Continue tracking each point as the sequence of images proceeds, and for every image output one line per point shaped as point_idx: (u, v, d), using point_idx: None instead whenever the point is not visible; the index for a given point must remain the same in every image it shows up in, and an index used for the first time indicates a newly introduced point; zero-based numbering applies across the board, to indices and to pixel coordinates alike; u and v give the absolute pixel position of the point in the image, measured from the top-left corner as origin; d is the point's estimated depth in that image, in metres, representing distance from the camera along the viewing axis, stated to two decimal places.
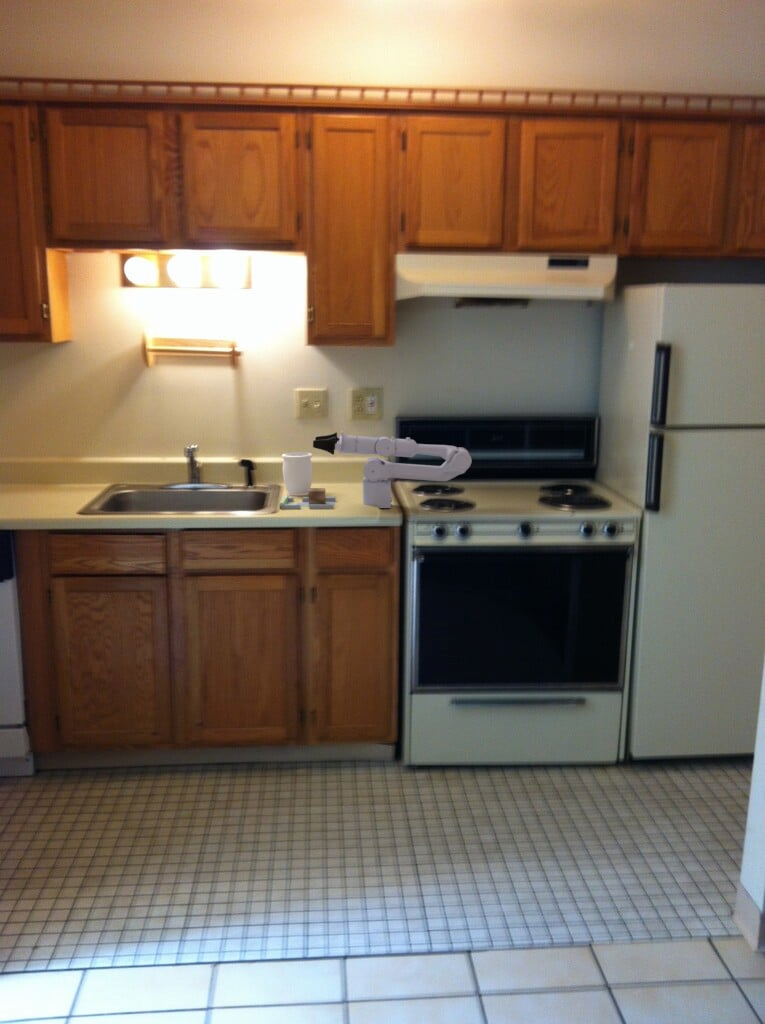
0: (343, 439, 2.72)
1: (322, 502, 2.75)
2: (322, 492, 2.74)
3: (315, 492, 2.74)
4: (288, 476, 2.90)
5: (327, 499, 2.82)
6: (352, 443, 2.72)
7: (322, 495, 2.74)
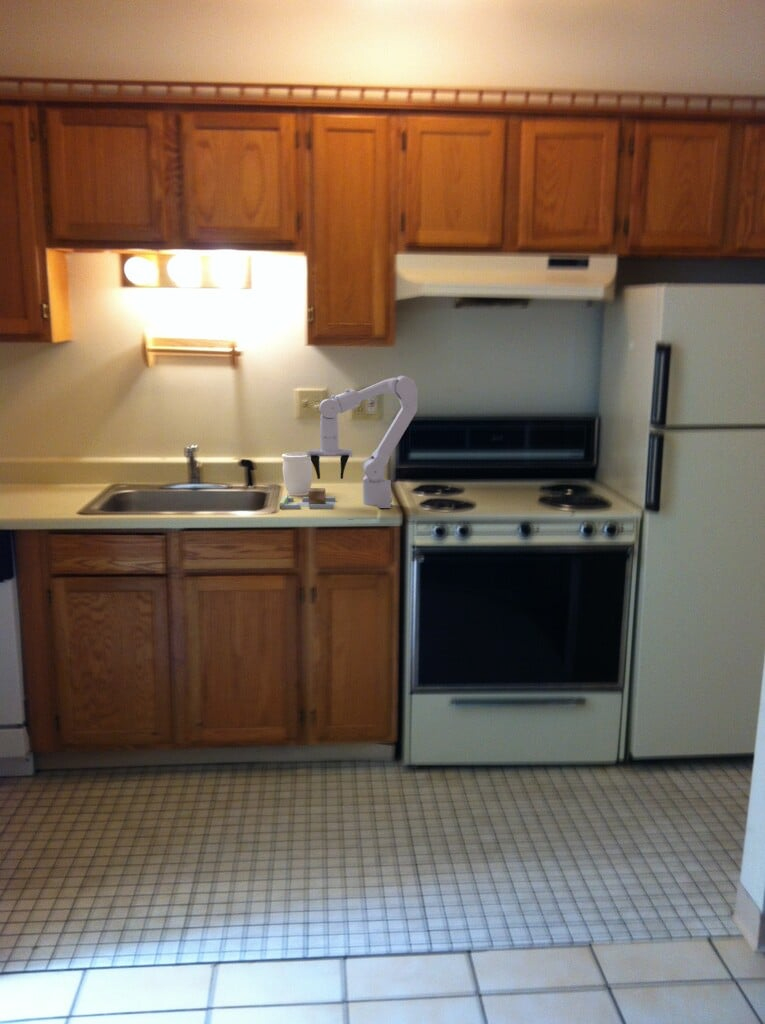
0: (336, 450, 2.71)
1: (322, 502, 2.75)
2: (322, 492, 2.74)
3: (315, 492, 2.74)
4: (288, 476, 2.90)
5: (327, 499, 2.82)
6: (337, 440, 2.72)
7: (322, 495, 2.74)
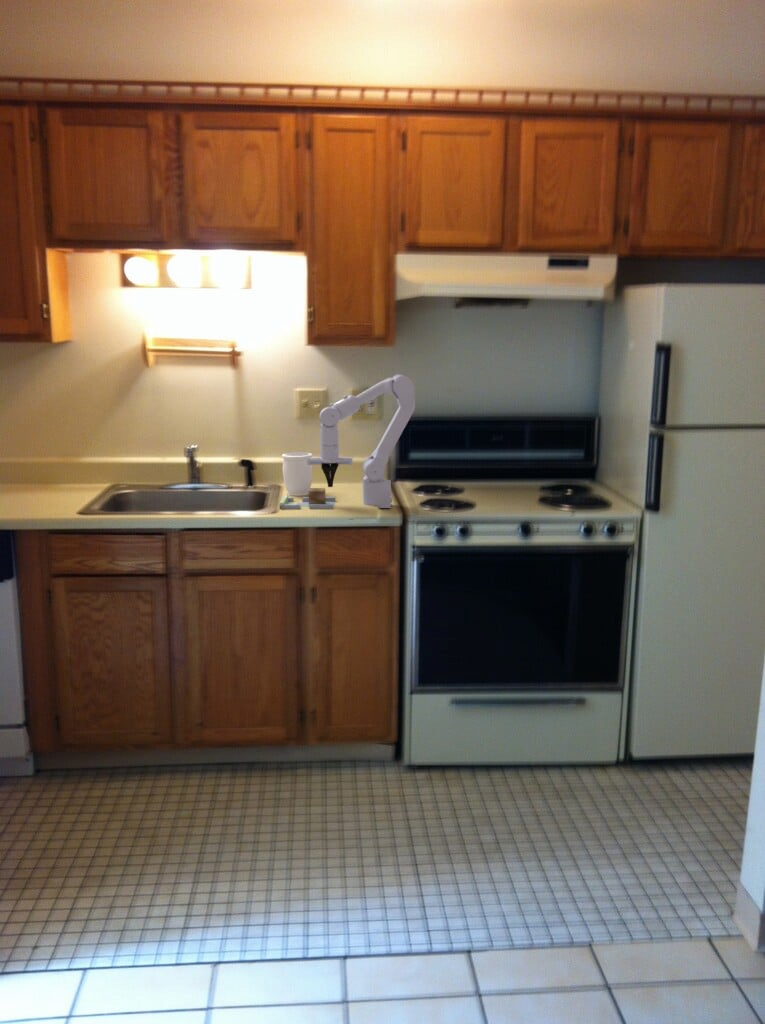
0: (336, 458, 2.72)
1: (322, 502, 2.75)
2: (322, 492, 2.74)
3: (315, 492, 2.74)
4: (288, 476, 2.90)
5: (327, 499, 2.82)
6: (337, 448, 2.72)
7: (322, 495, 2.74)
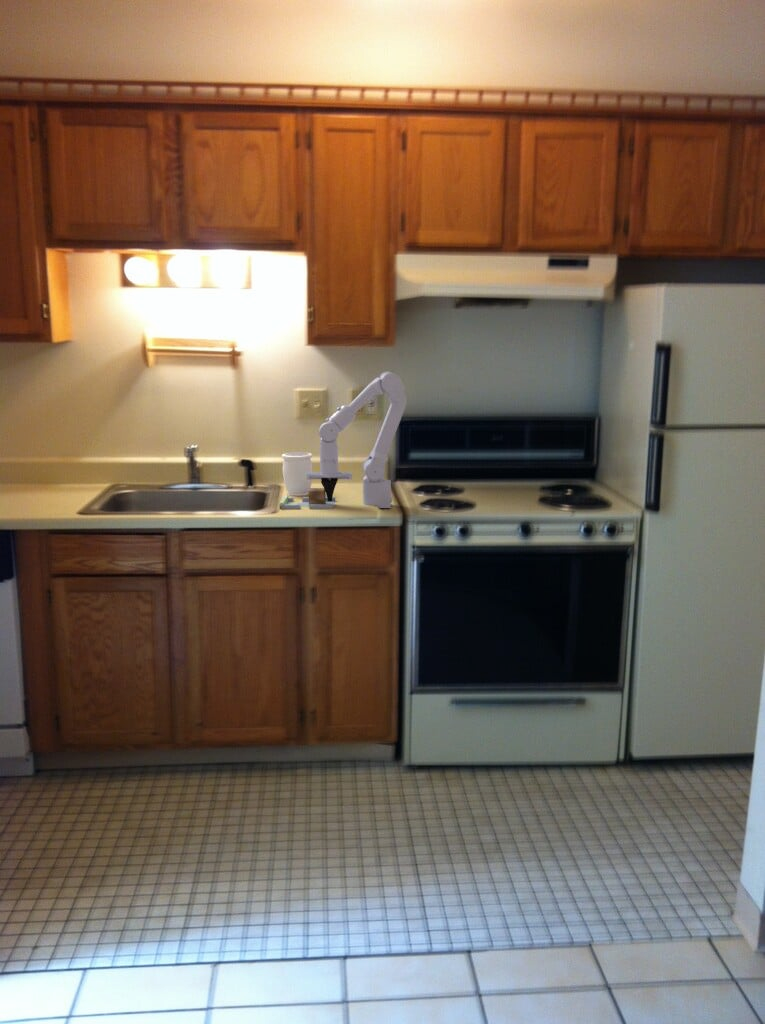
0: (335, 473, 2.73)
1: (322, 502, 2.75)
2: (322, 492, 2.74)
3: (315, 492, 2.74)
4: (288, 476, 2.90)
5: (327, 499, 2.82)
6: (337, 463, 2.73)
7: (322, 495, 2.74)
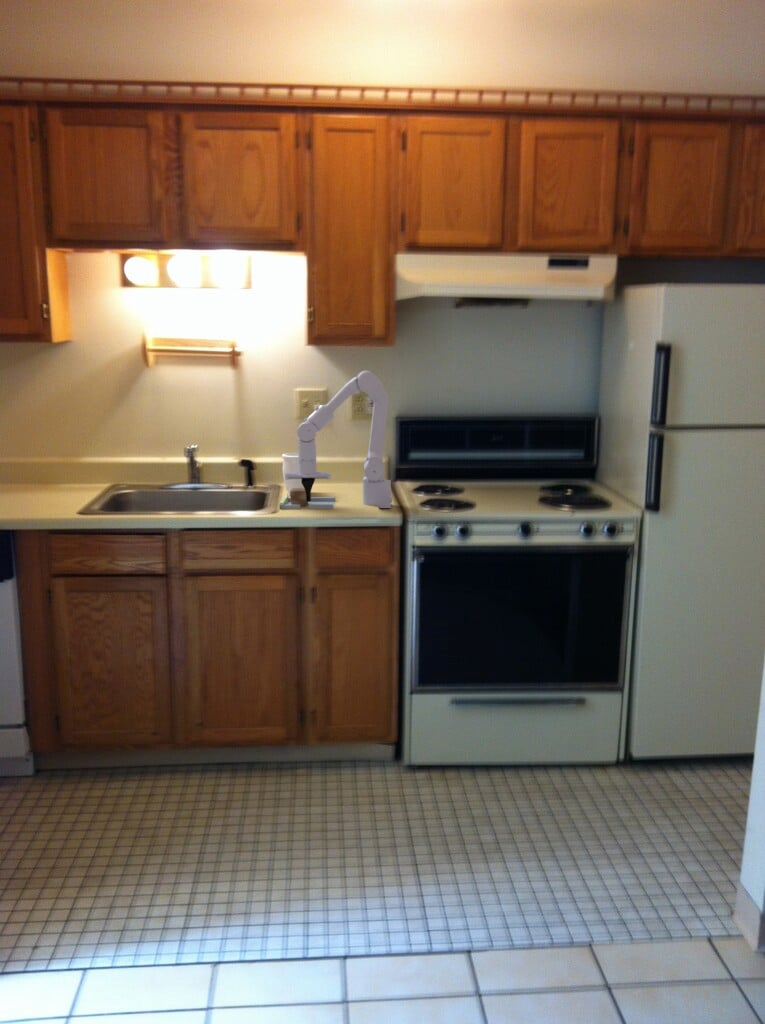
0: (314, 473, 2.73)
1: (304, 502, 2.75)
2: (304, 492, 2.74)
3: (297, 492, 2.74)
4: None
5: (327, 499, 2.82)
6: (315, 463, 2.73)
7: (304, 495, 2.74)
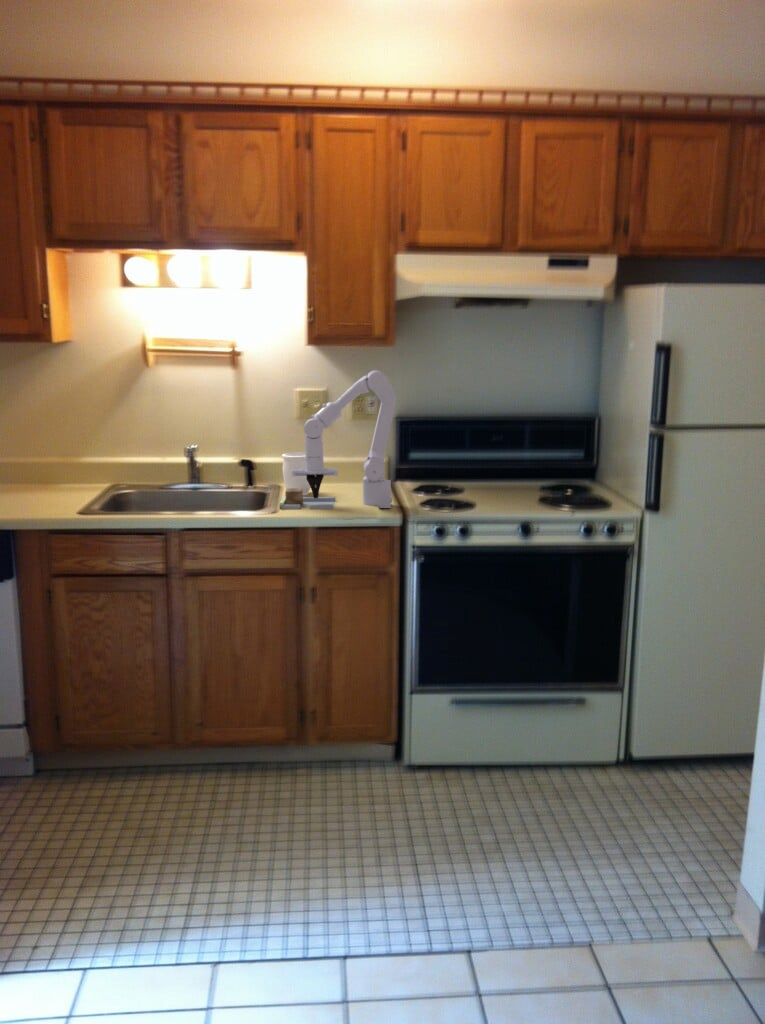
0: (321, 469, 2.73)
1: (299, 502, 2.75)
2: (299, 492, 2.74)
3: (292, 492, 2.74)
4: (288, 476, 2.90)
5: (327, 499, 2.82)
6: (322, 459, 2.73)
7: (299, 495, 2.74)
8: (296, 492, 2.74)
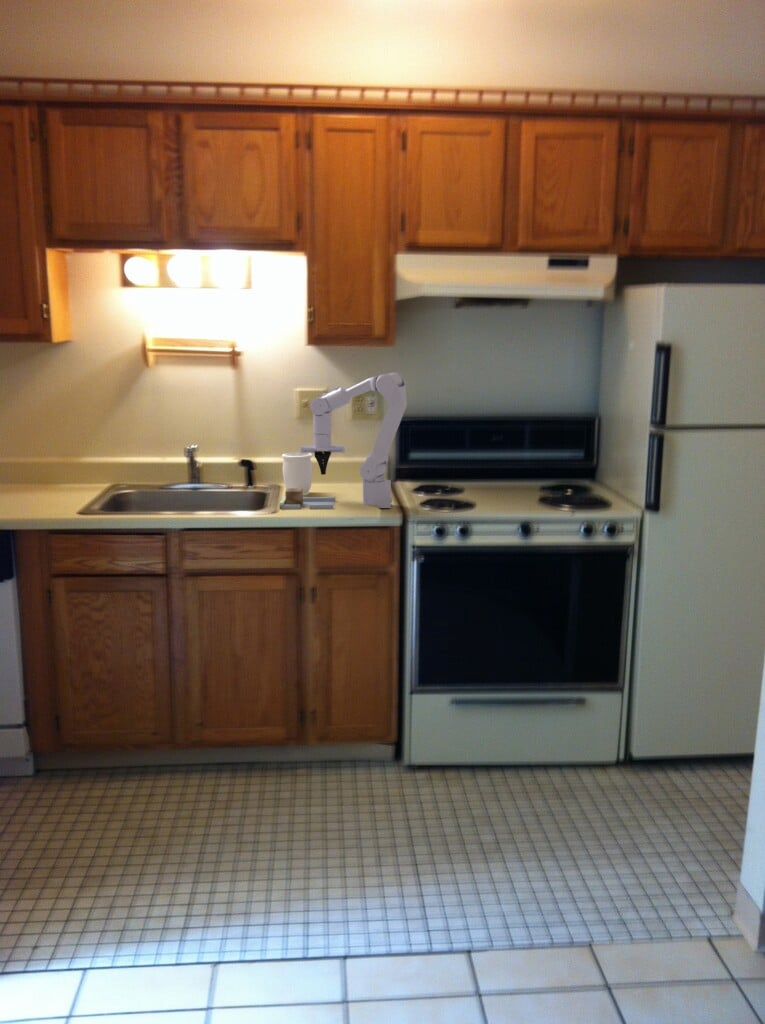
0: (328, 446, 2.79)
1: (299, 502, 2.75)
2: (299, 492, 2.74)
3: (292, 492, 2.74)
4: (288, 476, 2.90)
5: (327, 499, 2.82)
6: (330, 437, 2.80)
7: (299, 495, 2.74)
8: (296, 492, 2.74)
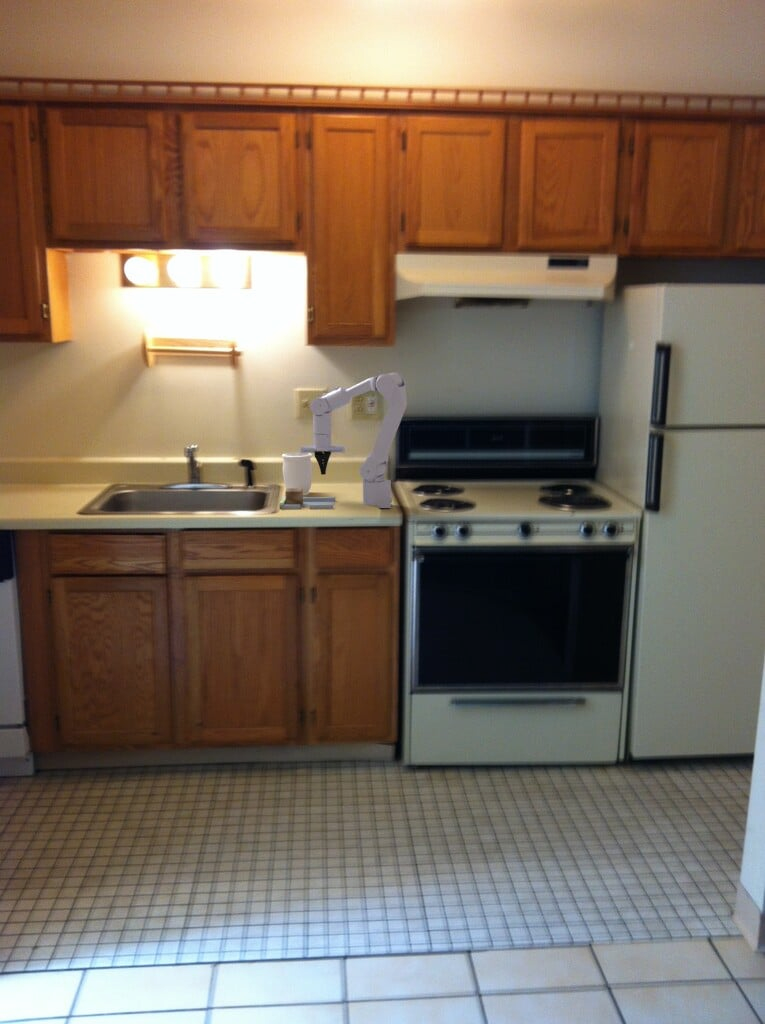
0: (328, 446, 2.79)
1: (299, 502, 2.75)
2: (299, 492, 2.74)
3: (292, 492, 2.74)
4: (288, 476, 2.90)
5: (327, 499, 2.82)
6: (330, 437, 2.80)
7: (299, 495, 2.74)
8: (296, 492, 2.74)
